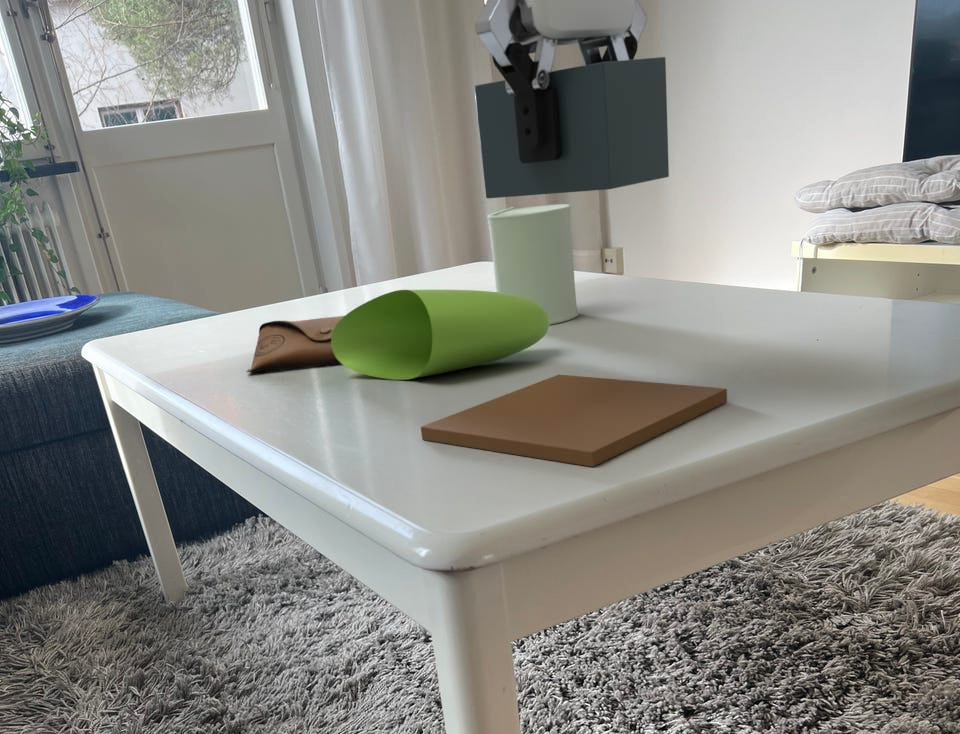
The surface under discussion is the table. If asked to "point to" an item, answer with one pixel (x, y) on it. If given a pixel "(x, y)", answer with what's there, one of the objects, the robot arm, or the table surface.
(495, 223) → the can
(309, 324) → the sunglasses case
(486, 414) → the mat
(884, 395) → the table surface
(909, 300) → the table surface
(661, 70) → the toaster
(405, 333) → the green curved sheet
